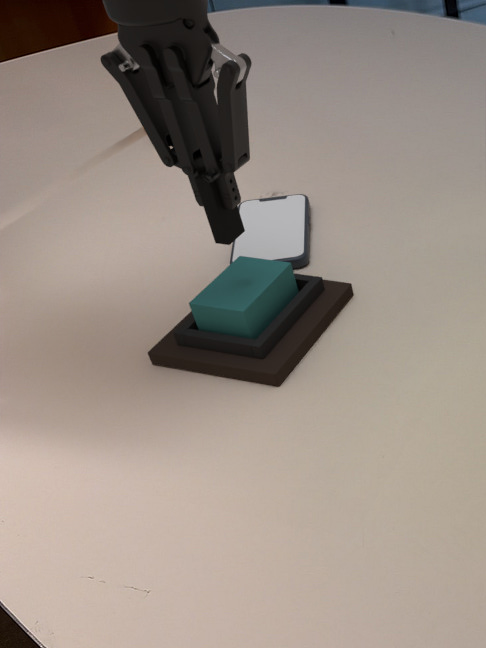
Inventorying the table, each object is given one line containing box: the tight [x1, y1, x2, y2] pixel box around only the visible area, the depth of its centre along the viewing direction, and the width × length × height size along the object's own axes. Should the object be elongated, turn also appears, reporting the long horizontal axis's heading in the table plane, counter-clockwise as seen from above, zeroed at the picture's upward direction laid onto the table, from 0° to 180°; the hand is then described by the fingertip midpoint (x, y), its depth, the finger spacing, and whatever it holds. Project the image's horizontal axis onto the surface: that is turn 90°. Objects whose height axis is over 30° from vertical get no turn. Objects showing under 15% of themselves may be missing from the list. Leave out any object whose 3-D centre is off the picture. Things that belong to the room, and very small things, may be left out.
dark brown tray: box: [147, 272, 355, 387], centre depth 82 cm, size 14×16×3 cm
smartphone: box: [229, 193, 311, 270], centre depth 97 cm, size 9×2×16 cm
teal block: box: [188, 256, 299, 340], centre depth 81 cm, size 6×9×4 cm, turn 164°
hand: (230, 236), depth 76 cm, fingers closed
